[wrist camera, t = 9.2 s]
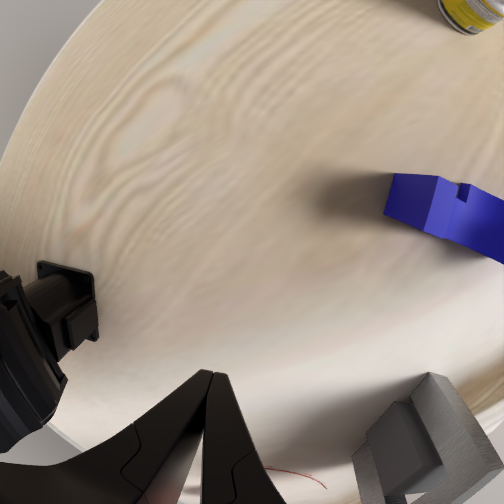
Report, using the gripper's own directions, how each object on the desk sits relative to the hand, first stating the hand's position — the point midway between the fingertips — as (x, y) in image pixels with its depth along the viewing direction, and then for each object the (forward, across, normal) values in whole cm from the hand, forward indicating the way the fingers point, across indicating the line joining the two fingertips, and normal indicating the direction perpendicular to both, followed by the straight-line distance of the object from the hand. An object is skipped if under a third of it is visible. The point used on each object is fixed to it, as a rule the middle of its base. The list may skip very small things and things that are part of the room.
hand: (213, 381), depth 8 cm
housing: (+12, -18, +15) cm, 26 cm away
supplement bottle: (+12, -15, -25) cm, 32 cm away
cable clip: (+12, -15, -7) cm, 21 cm away
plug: (+12, -21, +16) cm, 29 cm away
